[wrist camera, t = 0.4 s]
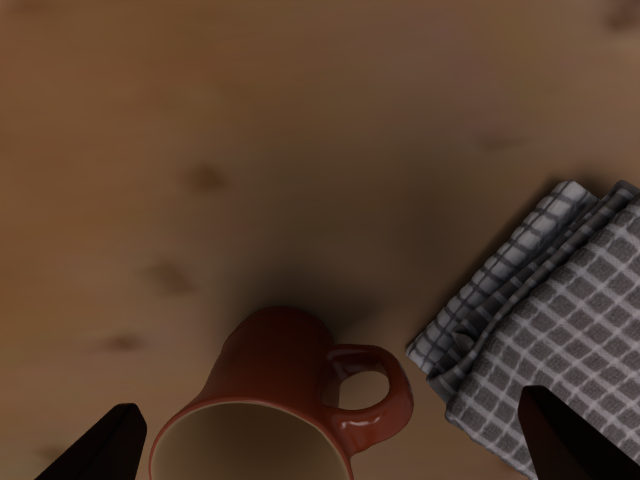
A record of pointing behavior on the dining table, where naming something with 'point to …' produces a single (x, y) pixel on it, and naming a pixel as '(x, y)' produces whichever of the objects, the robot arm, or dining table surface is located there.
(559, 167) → the dining table surface
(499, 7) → the dining table surface
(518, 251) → the towel
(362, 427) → the mug
